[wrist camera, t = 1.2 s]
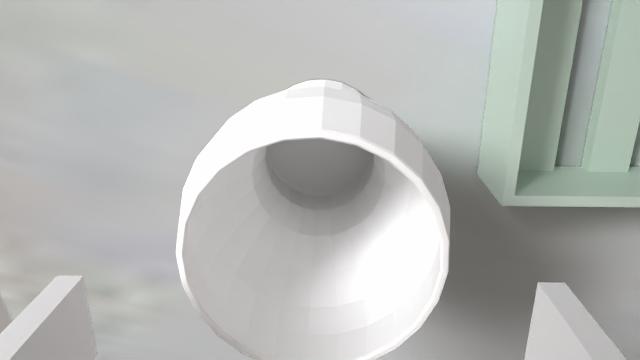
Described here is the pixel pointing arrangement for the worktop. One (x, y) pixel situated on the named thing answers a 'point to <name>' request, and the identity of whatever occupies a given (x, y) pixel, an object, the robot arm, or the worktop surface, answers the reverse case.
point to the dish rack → (559, 108)
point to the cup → (314, 228)
